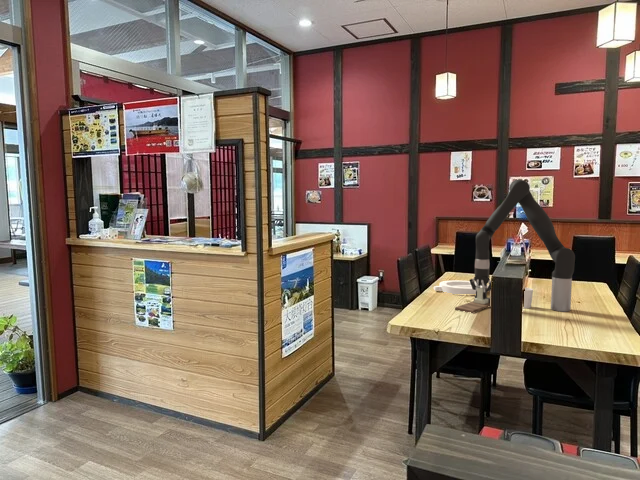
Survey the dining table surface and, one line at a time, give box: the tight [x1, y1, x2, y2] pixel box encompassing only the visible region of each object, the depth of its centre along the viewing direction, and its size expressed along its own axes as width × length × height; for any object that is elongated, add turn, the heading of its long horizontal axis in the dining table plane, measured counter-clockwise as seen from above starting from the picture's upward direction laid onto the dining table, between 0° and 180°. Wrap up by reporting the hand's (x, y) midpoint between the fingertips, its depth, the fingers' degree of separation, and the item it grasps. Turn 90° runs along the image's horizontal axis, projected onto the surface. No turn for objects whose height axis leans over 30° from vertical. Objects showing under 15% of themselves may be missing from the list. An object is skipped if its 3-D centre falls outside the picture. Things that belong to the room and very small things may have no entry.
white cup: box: [523, 287, 534, 309], centre depth 241 cm, size 8×8×10 cm
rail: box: [454, 295, 491, 314], centre depth 240 cm, size 24×10×4 cm, turn 134°
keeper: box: [473, 287, 489, 304], centre depth 245 cm, size 5×6×8 cm
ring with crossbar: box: [433, 279, 489, 295], centre depth 284 cm, size 28×28×5 cm
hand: (481, 298), depth 245 cm, fingers closed on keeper, 3 cm apart
